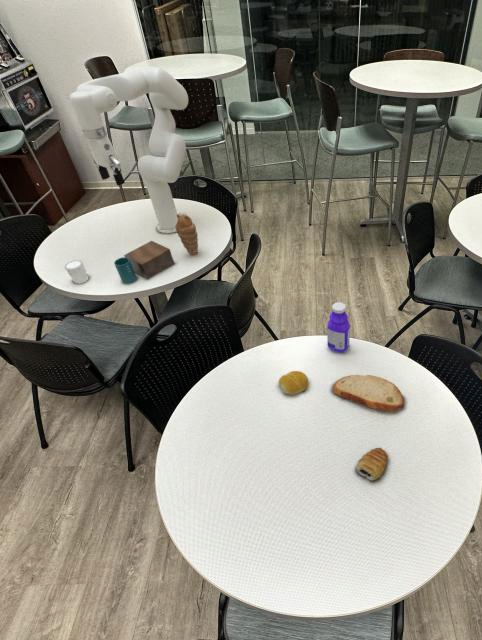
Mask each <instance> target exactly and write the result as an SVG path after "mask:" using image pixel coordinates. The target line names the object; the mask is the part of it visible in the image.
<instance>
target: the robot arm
mask: <svg viewBox="0 0 482 640" xmlns="http://www.w3.org/2000/svg"><path fill="white" fill-rule="evenodd" d="M147 94H148V98H149V101H150V104H151V106H152V109H153V113H154V123H153V126H152V129H151V132H150V136H149V138H148V139H149V140H148V150H149V152H150V153H151V155H149V154H147V155H142V156H141V157H140V158H139V159H138V161H137V170H138V173H139V175H140V177H141V179H142V180H143V182H144V184H145V187H146V189H147V191H148V195H149V198H150V201H151V205H152V207H153V210H154V213H155V217H156V219H157V222H158V223H157V224H156V230H157V232H159V233H161V234H173V233H177V230H176V228H175V226H176V224H177V221H178V218H177V214H179V215H180V216H182V215H187V216H188V214H187V212H183V213H181V212H178V211H177V208H176V204H175V201H174V198H173V194H172V190H171V187H170V185H169V184H173V183H175V182H176V181H178V179H179V177H180V174H181V171H182V168H183V165H184V161H185V158H186V153H187V146H186V145H187V144H186V141H185V139H184V138H183V136H181V135H180V134H178V133H175V132H176V126H177V125H176V120H175V118H174V116H173V114H172V112H171V110H176V111H182V110H185V109H186V108H187V107H188V105H189V95H188V93H187V90H186V88H185V87H184V86H183V85H182V84H181V83H180V82H179V81H178V80H176V78H174V76H173V75H172V74H170V73H169V72H168V71H167V70H165V69H164V68H162V67H159V66H147V65H140V66H137V67H134V68H131V69H129V70H127V71H123V72H121V73H117V74H111V75H107V76H103V77H98V78H94V79H90V80H88V81H85V82H83V83H80V84H79V85H78V86H77V88H76V89H75V91H73V92H72V93H70V94H69V100H70V103H71V106H72V109H73V111H74V113H75V116H76V118H77V121H78V124H79V126H80V129H81V131H82V133H83V136H84V138H85V140H86V142H87V145H88V148H89V151H90V157H91V158H92V159H93V162H94V164H95V166H96V168H97V169H98V172H99V175H100V178H101V180H103V181H105V180H106V179H110V178H111V175H110V173H109V169H110V171H111V172H112V176H113V179H114V181H115V184H116V186H119V187H120V186H122V185H123V184H125V179H124V177H123V174H122V167H121V163H120V160H119V157H118V155H117V153H116V151H115V148H114V146H113V143H112V142H111V139H110V138H109V137H108V133H107V130H106V128H105V126H104V123H103V120H102V117H101V114H103V113H109V112H112V111H114V110H115V109H116V108H117V105H118V102H131V101H133V100H136V99H138V98H140V97H142V96H145V95H147Z"/></svg>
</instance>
